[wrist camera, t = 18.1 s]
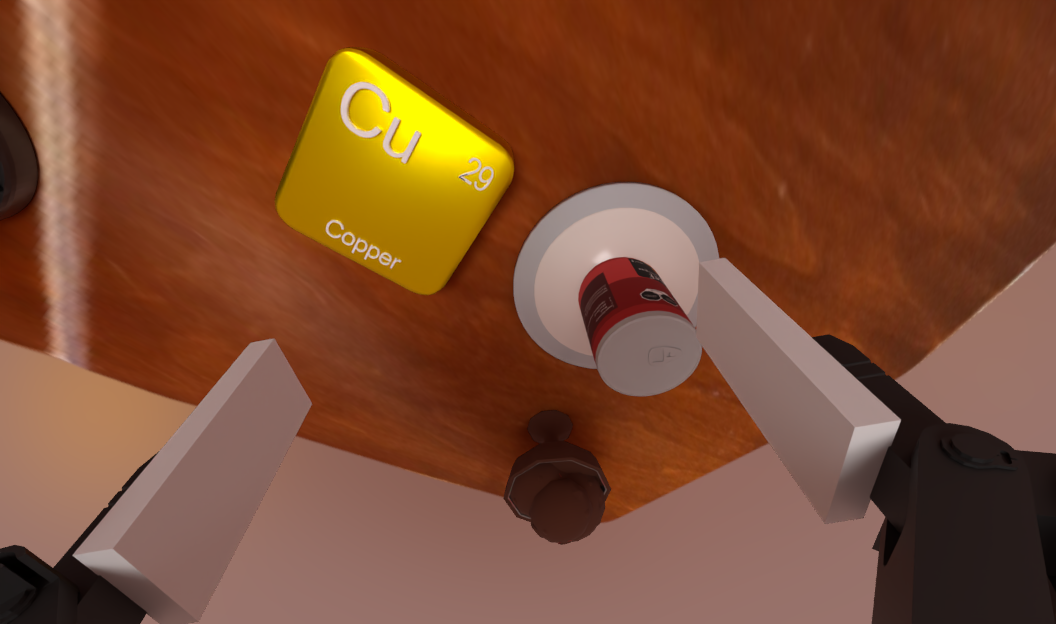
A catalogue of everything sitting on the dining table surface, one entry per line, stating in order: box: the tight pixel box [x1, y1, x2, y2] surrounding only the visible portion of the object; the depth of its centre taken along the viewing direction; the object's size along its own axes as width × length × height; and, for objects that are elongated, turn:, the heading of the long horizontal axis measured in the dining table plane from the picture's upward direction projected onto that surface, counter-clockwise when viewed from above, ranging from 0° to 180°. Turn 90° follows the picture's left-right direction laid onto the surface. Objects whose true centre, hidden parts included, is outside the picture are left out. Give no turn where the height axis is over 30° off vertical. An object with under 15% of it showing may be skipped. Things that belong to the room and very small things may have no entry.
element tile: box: [275, 47, 515, 295], centre depth 36 cm, size 15×15×5 cm
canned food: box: [578, 257, 702, 396], centre depth 38 cm, size 8×8×11 cm
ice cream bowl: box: [504, 410, 611, 544], centre depth 47 cm, size 11×11×15 cm
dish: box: [514, 182, 719, 369], centre depth 43 cm, size 20×20×2 cm
